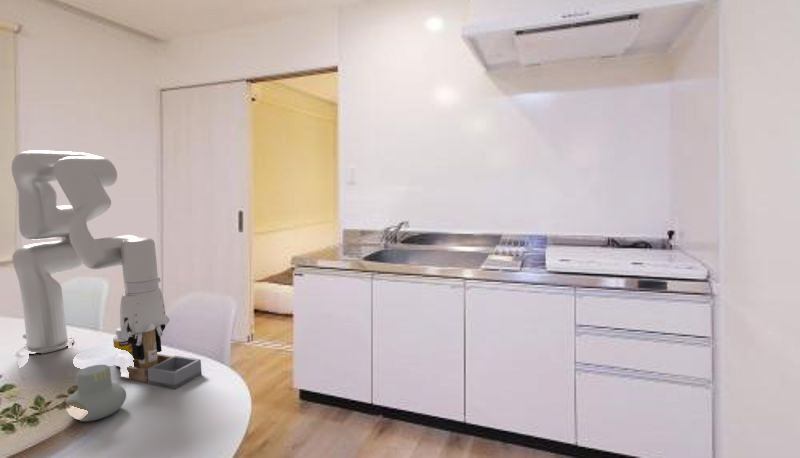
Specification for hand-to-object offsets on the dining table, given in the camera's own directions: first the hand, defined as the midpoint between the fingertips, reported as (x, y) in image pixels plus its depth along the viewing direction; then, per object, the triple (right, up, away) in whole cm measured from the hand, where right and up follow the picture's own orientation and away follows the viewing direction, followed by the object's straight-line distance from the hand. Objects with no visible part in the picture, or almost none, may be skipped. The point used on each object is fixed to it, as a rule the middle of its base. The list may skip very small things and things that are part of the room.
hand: (147, 354), depth 115 cm
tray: (+9, -5, -4) cm, 11 cm away
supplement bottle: (-9, -5, +6) cm, 11 cm away
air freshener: (0, -8, -20) cm, 21 cm away
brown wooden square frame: (0, -5, +1) cm, 5 cm away
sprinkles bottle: (0, -5, +1) cm, 5 cm away
